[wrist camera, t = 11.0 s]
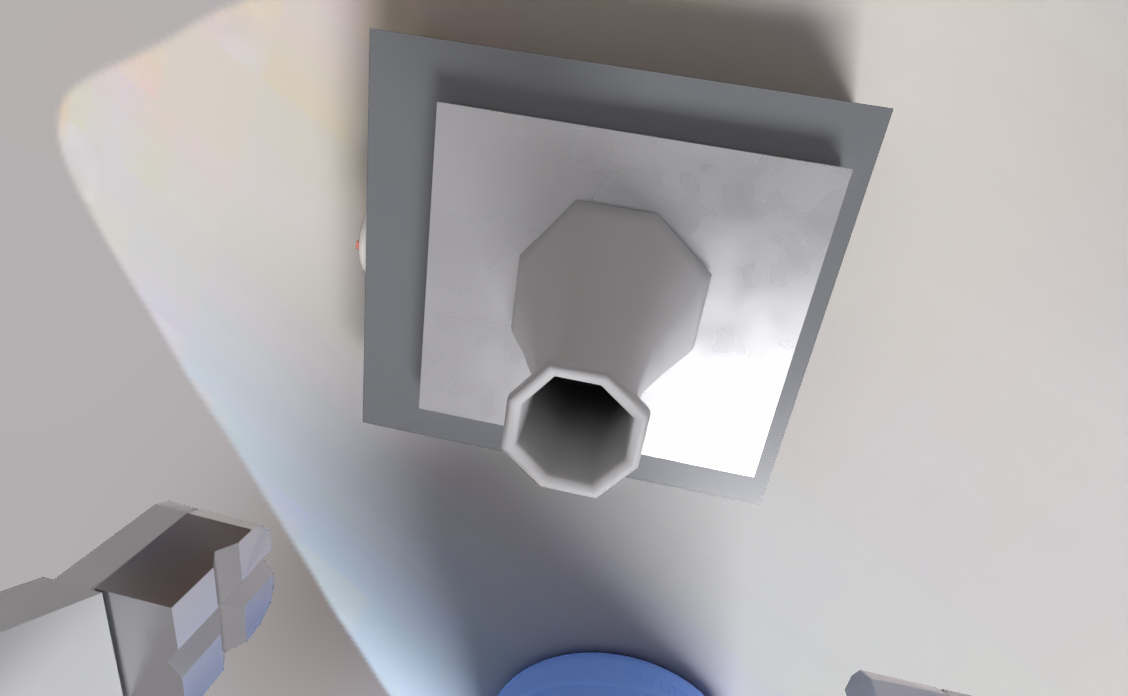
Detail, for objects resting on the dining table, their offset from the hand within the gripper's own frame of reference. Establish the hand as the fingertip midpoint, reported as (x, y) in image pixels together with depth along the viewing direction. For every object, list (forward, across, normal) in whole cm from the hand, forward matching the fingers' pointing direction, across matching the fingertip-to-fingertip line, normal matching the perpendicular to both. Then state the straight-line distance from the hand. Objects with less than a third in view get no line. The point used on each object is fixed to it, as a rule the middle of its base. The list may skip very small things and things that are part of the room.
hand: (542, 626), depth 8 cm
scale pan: (+16, +1, 0) cm, 16 cm away
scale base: (+20, +2, 0) cm, 20 cm away
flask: (+15, +1, 0) cm, 15 cm away
